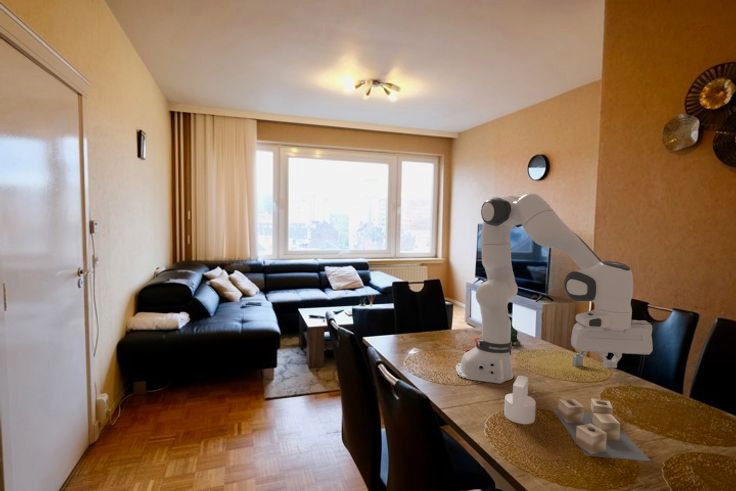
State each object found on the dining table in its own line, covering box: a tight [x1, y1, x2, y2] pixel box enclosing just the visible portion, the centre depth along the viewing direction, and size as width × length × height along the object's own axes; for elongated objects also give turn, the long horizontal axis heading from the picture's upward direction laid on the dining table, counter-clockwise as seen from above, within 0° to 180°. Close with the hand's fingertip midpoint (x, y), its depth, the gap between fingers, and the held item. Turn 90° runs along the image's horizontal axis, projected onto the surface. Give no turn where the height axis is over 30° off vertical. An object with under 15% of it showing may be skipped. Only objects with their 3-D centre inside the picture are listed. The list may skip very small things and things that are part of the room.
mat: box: [553, 409, 652, 462], centre depth 110 cm, size 16×24×1 cm, turn 172°
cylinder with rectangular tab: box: [503, 375, 537, 425], centre depth 118 cm, size 9×9×12 cm
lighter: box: [572, 351, 589, 368], centre depth 162 cm, size 7×2×8 cm, turn 109°
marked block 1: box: [557, 398, 585, 423], centre depth 117 cm, size 5×5×5 cm
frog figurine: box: [510, 324, 521, 347], centre depth 191 cm, size 18×18×12 cm
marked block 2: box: [589, 397, 614, 420], centre depth 117 cm, size 5×5×5 cm
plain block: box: [592, 413, 621, 441], centre depth 108 cm, size 5×5×5 cm
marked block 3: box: [575, 423, 607, 454], centre depth 102 cm, size 5×5×5 cm
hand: (609, 366), depth 107 cm, fingers closed
